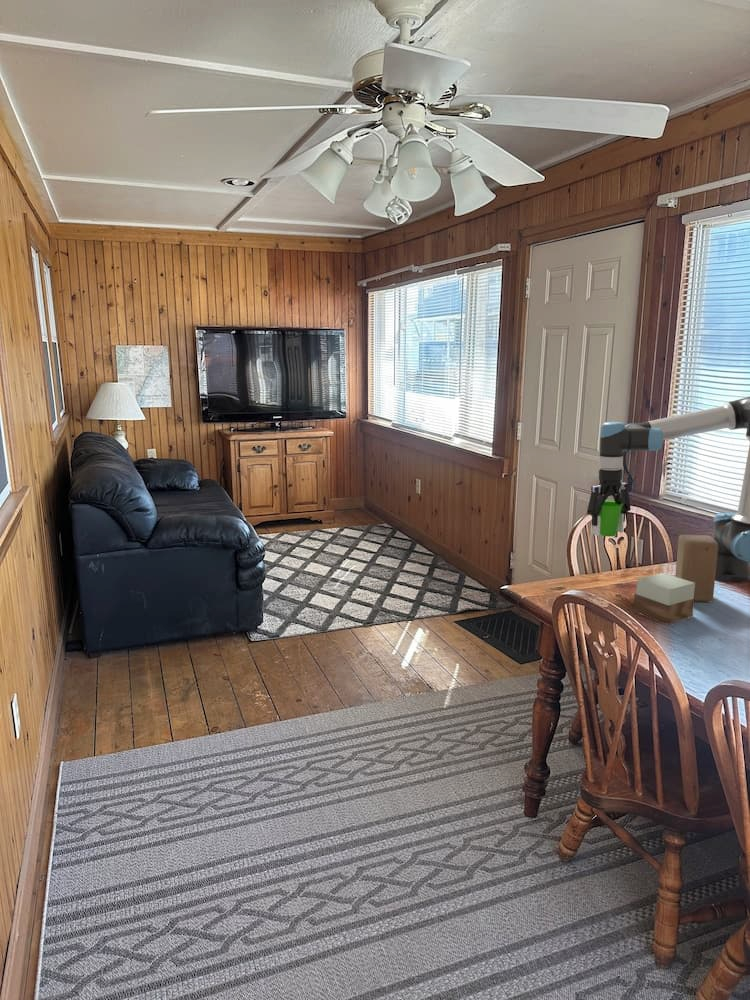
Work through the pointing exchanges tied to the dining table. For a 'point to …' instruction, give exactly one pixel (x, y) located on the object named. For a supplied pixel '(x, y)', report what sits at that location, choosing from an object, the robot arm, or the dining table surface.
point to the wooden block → (698, 564)
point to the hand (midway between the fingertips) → (607, 533)
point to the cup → (609, 518)
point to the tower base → (663, 609)
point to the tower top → (665, 588)
